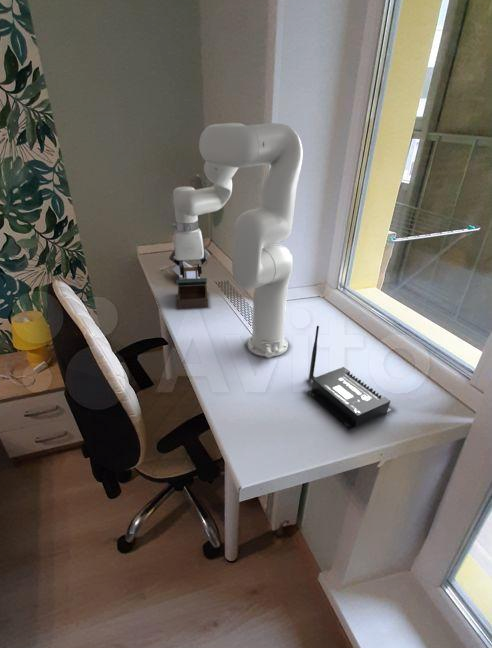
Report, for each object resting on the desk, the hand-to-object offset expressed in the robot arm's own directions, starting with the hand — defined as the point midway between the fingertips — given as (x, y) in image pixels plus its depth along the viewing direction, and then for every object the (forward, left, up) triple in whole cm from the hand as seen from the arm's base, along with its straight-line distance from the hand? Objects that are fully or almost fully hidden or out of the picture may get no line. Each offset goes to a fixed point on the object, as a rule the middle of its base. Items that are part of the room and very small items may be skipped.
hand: (191, 275), depth 140 cm
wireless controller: (-60, -38, -11) cm, 72 cm away
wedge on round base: (+22, +2, -11) cm, 25 cm away
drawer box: (+1, 0, -11) cm, 11 cm away
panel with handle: (+2, 0, -4) cm, 4 cm away
